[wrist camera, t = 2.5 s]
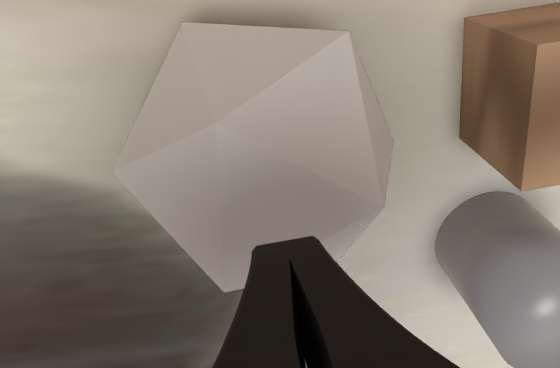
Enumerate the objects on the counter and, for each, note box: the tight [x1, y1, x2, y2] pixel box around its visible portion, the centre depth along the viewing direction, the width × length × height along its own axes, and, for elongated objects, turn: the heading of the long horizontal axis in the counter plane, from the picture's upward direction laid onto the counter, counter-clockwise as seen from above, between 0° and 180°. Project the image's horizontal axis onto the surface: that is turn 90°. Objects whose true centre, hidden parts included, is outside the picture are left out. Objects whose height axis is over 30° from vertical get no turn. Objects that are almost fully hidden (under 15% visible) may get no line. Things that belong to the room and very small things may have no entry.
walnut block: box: [459, 3, 560, 191], centre depth 18 cm, size 5×5×5 cm
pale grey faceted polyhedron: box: [111, 22, 393, 293], centre depth 17 cm, size 8×9×10 cm
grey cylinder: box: [435, 192, 560, 368], centre depth 21 cm, size 5×5×6 cm
